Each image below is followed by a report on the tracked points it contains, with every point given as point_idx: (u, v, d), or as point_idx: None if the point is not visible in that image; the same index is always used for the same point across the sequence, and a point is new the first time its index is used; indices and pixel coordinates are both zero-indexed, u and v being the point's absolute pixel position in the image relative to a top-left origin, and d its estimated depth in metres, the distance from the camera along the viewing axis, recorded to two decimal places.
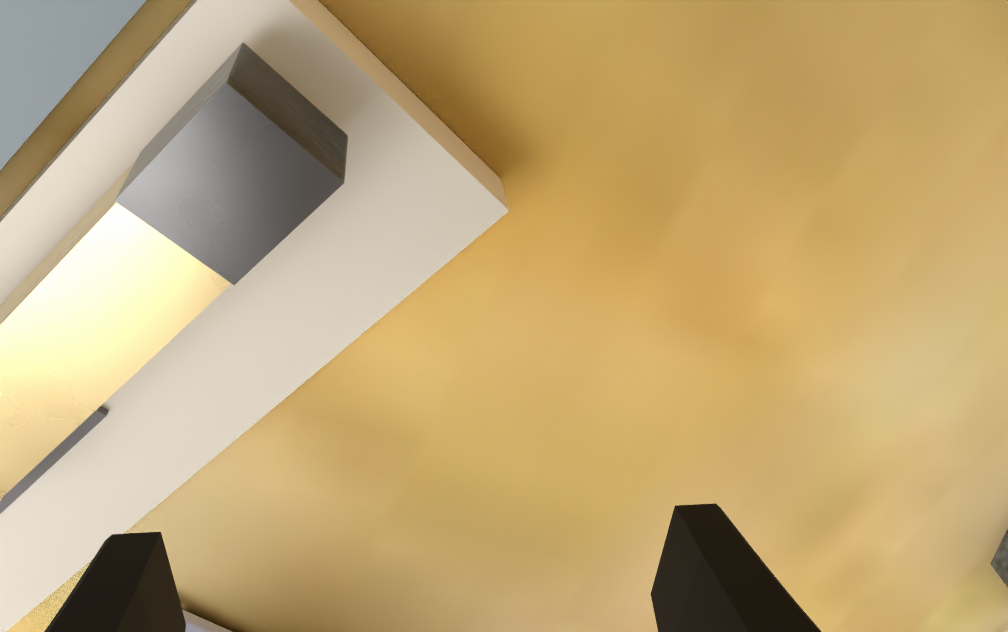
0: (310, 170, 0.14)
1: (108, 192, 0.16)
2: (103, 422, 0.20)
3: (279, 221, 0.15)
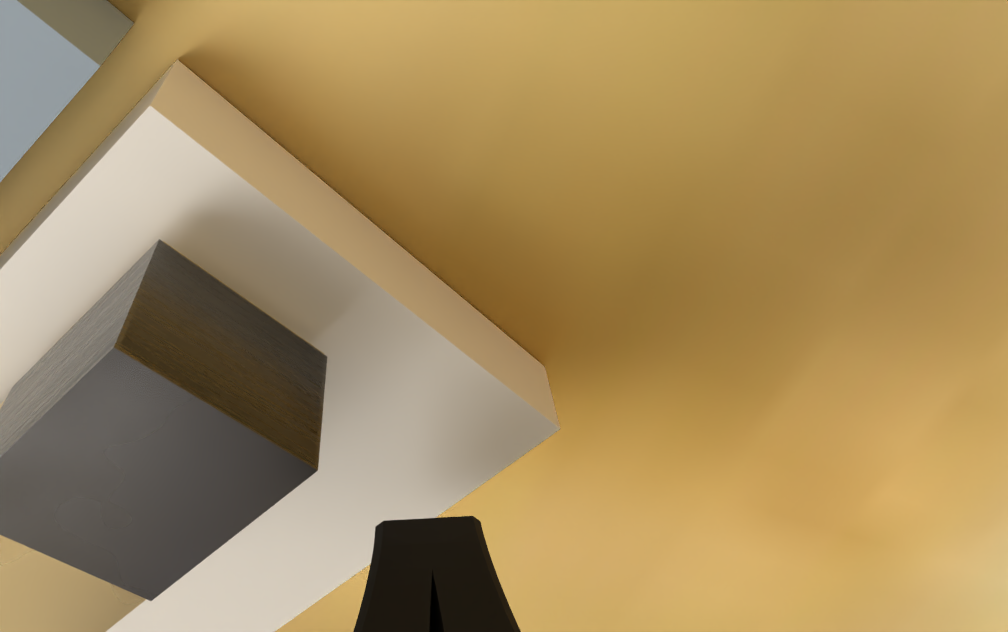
0: (263, 457, 0.09)
1: None
2: None
3: (216, 523, 0.09)
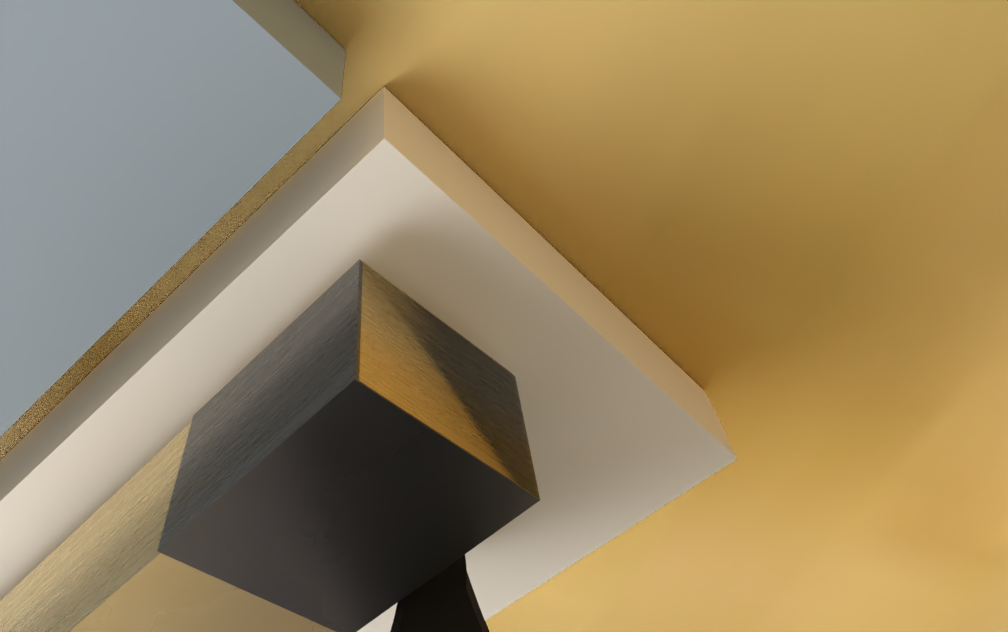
0: (486, 488, 0.08)
1: (143, 478, 0.10)
2: None
3: (428, 556, 0.09)
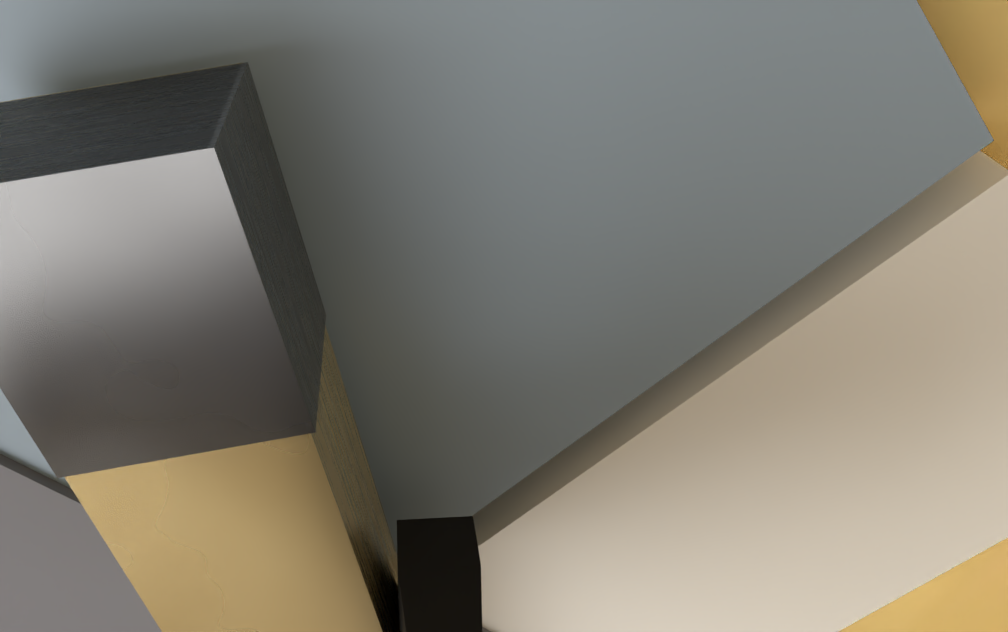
0: (149, 187, 0.06)
1: None
2: None
3: (231, 301, 0.07)
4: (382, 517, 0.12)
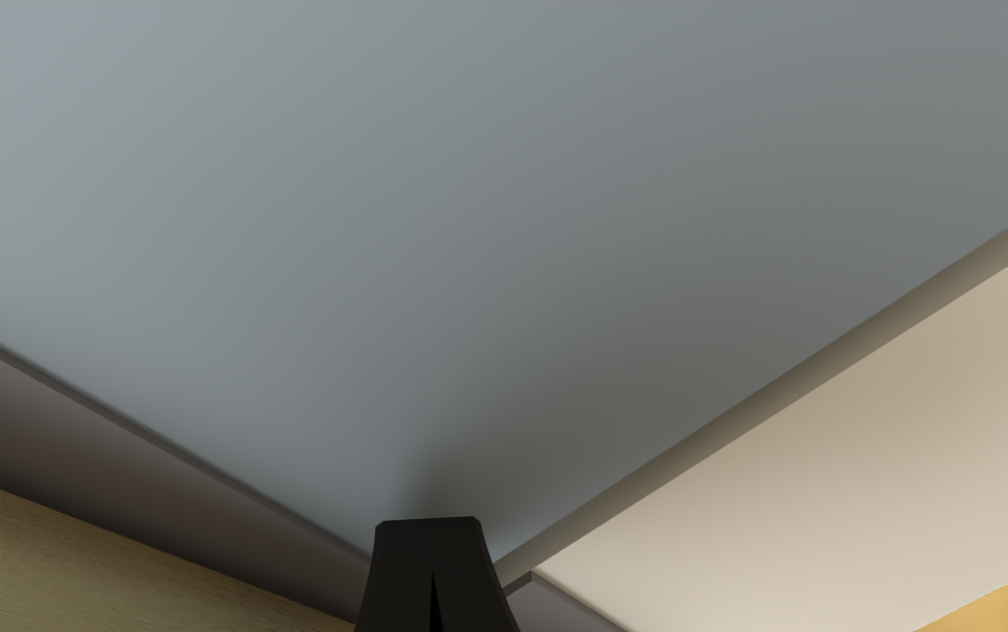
0: None
1: None
2: None
3: None
4: (214, 582, 0.11)
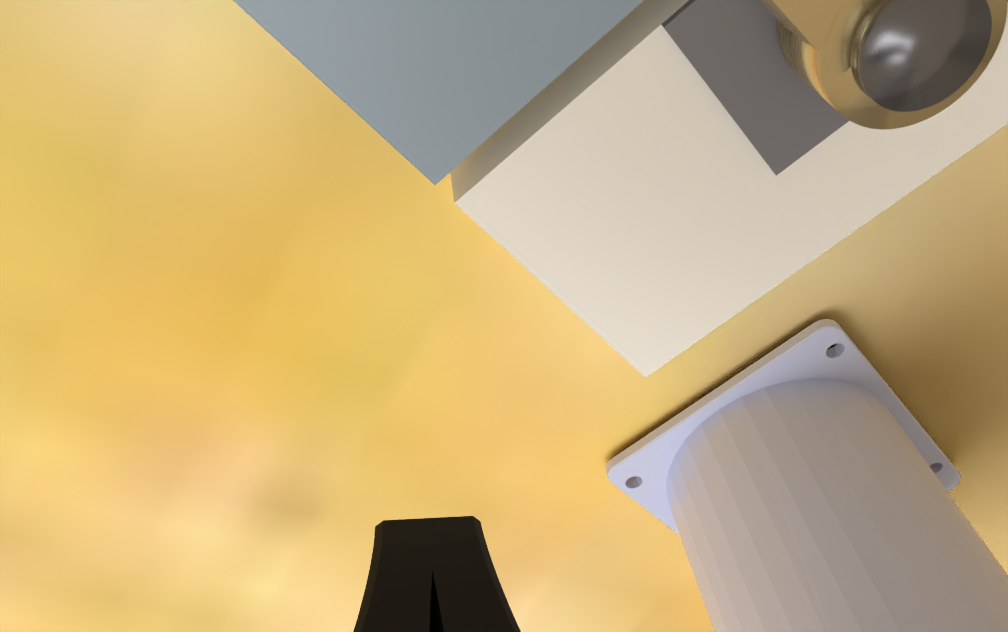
0: None
1: None
2: None
3: None
4: None
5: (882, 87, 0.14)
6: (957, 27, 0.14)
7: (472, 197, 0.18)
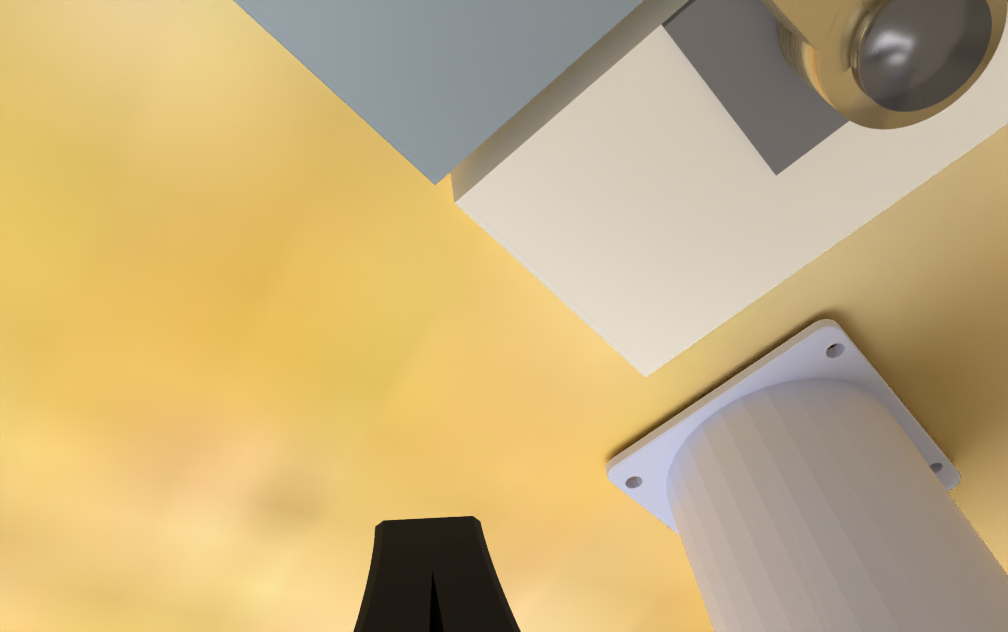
0: None
1: None
2: None
3: None
4: None
5: (882, 87, 0.14)
6: (957, 27, 0.14)
7: (472, 197, 0.18)
